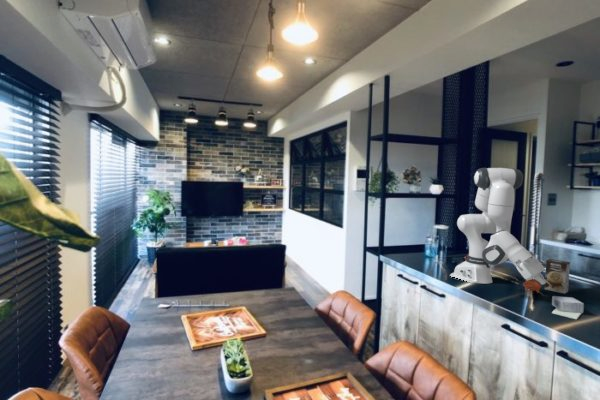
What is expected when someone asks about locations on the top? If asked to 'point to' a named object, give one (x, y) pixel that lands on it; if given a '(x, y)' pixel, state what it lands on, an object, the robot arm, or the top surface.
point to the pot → (532, 285)
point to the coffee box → (557, 275)
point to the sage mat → (567, 313)
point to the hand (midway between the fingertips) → (544, 283)
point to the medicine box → (567, 304)
